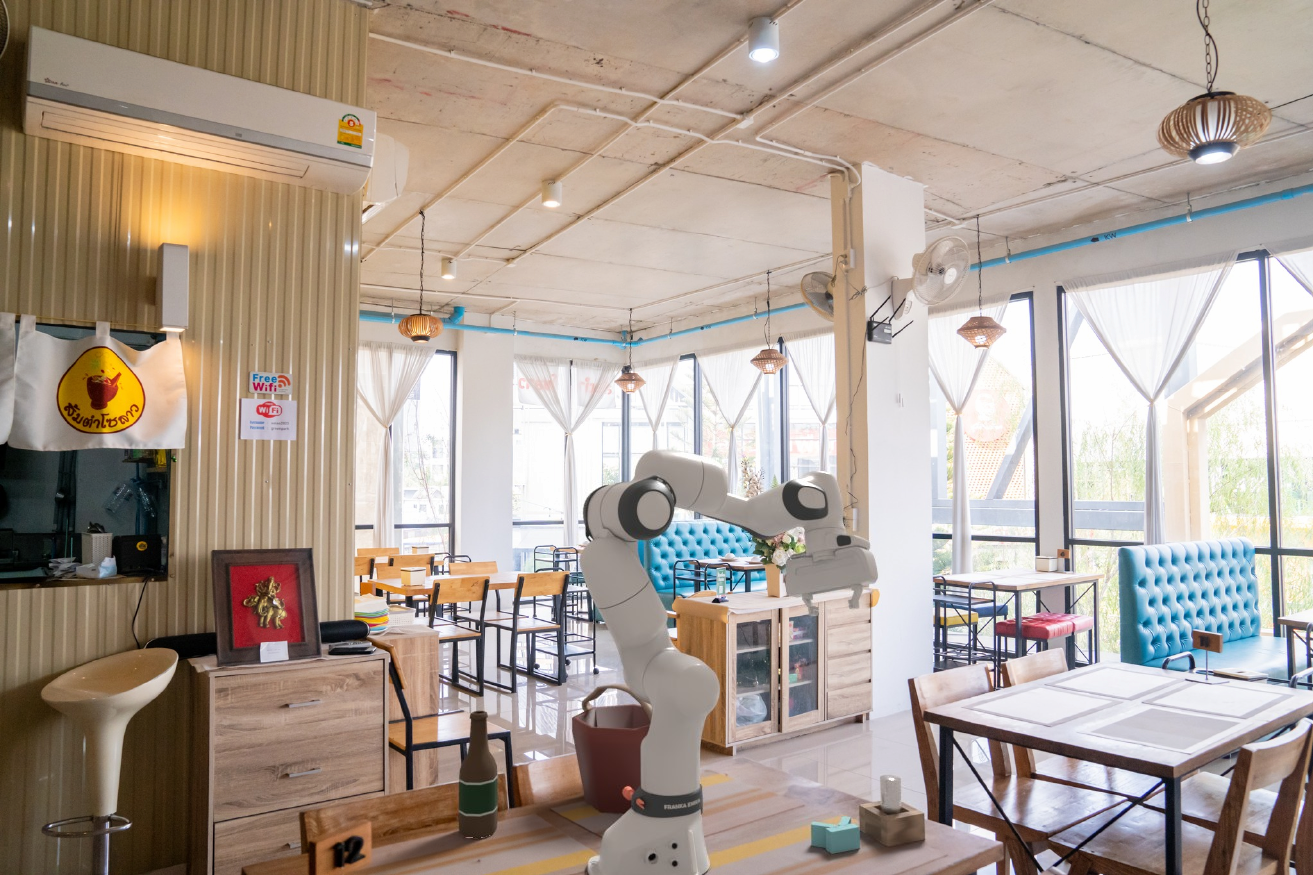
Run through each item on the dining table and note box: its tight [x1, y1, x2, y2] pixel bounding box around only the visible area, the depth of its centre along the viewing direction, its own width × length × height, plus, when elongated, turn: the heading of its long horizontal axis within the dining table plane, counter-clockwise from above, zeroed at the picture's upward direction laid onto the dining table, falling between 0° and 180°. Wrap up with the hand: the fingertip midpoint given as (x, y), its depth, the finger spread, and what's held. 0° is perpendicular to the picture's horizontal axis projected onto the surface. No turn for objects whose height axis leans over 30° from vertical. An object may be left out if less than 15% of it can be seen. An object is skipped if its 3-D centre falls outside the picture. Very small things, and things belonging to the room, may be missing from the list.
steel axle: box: [879, 774, 902, 815], centre depth 168 cm, size 4×4×11 cm
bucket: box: [571, 683, 652, 815], centre depth 189 cm, size 24×22×25 cm
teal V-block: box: [810, 815, 861, 855], centre depth 163 cm, size 9×6×4 cm, turn 112°
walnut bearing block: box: [858, 800, 926, 848], centre depth 168 cm, size 9×9×5 cm
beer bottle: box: [458, 710, 499, 839], centre depth 172 cm, size 8×8×24 cm
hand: (833, 612), depth 172 cm, fingers open, 8 cm apart
